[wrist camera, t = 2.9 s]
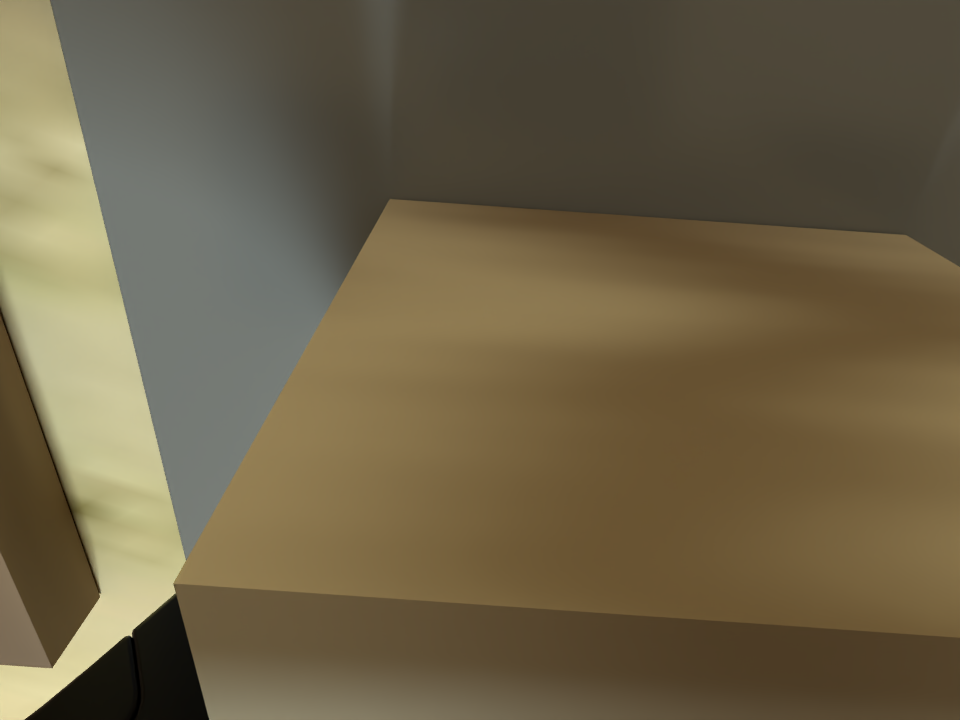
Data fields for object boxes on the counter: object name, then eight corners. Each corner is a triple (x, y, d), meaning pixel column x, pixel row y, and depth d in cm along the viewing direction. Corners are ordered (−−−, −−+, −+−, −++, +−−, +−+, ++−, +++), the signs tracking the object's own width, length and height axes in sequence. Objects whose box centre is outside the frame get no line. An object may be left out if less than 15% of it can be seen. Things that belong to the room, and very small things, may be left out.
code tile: (1505, -244, 6) (1542, -254, 6) (866, 740, 14) (872, 751, 14) (-22, -355, 6) (-41, -366, 6) (224, 696, 14) (220, 707, 14)
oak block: (905, 235, 8) (1661, 685, 3) (760, 588, 11) (981, 1101, 6) (389, 199, 8) (173, 583, 3) (393, 563, 11) (297, 1055, 6)
